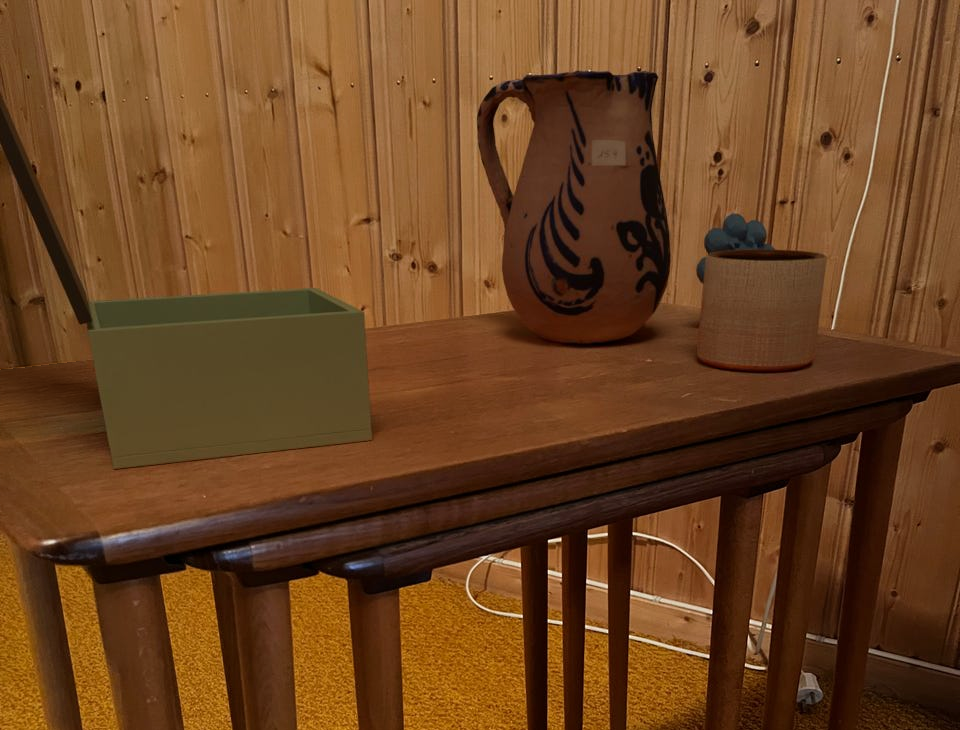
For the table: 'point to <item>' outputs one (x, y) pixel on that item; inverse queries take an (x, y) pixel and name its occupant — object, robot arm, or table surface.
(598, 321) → the ceramic pitcher
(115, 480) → the table surface
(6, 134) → the storage bin lid
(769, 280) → the planter
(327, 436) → the olive green storage bin
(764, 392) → the table surface
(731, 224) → the grapes
